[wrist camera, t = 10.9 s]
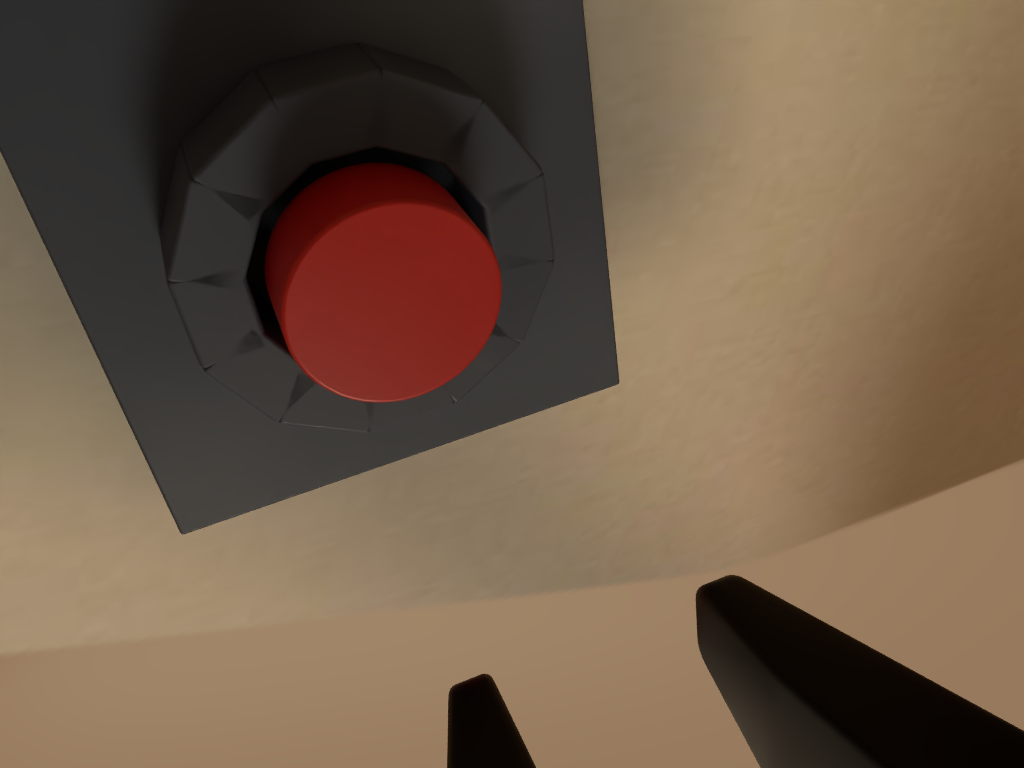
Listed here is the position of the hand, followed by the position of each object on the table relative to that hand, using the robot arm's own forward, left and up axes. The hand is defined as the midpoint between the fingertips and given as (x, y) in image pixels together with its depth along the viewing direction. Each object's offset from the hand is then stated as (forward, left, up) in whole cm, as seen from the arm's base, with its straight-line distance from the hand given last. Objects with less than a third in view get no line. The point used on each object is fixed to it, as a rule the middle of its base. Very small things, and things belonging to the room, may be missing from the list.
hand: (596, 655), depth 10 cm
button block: (0, 0, -12) cm, 12 cm away
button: (0, 0, -9) cm, 9 cm away
